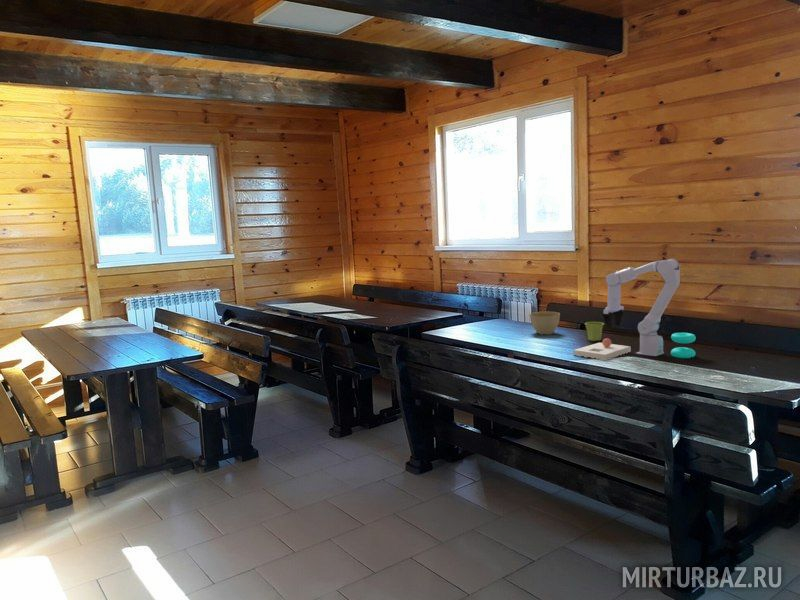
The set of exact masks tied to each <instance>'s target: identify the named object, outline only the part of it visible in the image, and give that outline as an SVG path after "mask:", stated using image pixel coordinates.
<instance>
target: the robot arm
mask: <svg viewBox="0 0 800 600" xmlns="http://www.w3.org/2000/svg"><path fill="white" fill-rule="evenodd" d="M652 271H653V272H656V273H657V272H658V273H659V275H660V276H661V277H662V278H663V280H664V281H665V284H664V286H663V288H662V289H661V290H660V292H659V295H658V297H657V298H656V300H655V301H654V303H653V305H652V307H651V309H650V310H649V313H648V314H647V315H646V316H645V317H644V318H643V320H642V321H640V322H638V324H637V330H638V333H639V351H637V352H635V354H637V355H643V356H649V357H657V356H660V355H664V354H665V352H664V339H663V336H662V335H658V332H657V331H658V330H659V328H660V322H661V320H662V319H661V317H662V316H663V314H664V312H665V310H666V309H667V308H668V305H669V304H670V301H671V299H672V298H673V296H674V294H675V292H676V291H677V289H678V287H679V286H680V283H681V278H680V277H681V275H680V273H681V272H680V271H681V265H680V263H679V261H677V260H676V259H675V258H668V259H663V260H657V261H653V262H652V261H651V262H649V263H647V264H644V265H642V266H639V267H633V266H626V267H625V268H623V269H621V270H616V271H615V272H611V273H609V274H607V275H606V277H605V282H606V284H607V306H606V307H604V308H605V309H604V308H603V312H602V313H601V316H602V318H603V320H604V324H605V326H606V327H605V328H606V329H612V327H613V321H614V326H615V327H621V325H622V320H623V317H624V315H625V314H626V311H625V307H624V305H621V295H622V293H621V290H622V289H621V288H622V286H621V285H622V284H623V283H624V284H625V283H627V282H631V281H633V280H636V279H637V277H638V275H643V274H645V273H648V272H649V273H650V272H652Z"/></svg>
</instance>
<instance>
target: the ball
mask: <svg viewBox="0 0 800 600" xmlns="http://www.w3.org/2000/svg"><path fill="white" fill-rule="evenodd" d="M601 343H602V344H603V345H604V346H605V347H609V346H610V345H611V344H612V340H611V339H610V338H608V337H607V338H604V339H603V340H602V342H601Z"/></svg>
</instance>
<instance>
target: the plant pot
mask: <svg viewBox="0 0 800 600" xmlns="http://www.w3.org/2000/svg"><path fill="white" fill-rule="evenodd" d="M584 325H585V328H586V332H587V338H588V341H591V342H596V341H601V339H602V333H603V328H604V325H605V322H600V321H587V322H585V323H584Z"/></svg>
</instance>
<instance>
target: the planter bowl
mask: <svg viewBox="0 0 800 600" xmlns="http://www.w3.org/2000/svg"><path fill="white" fill-rule="evenodd" d="M560 316H561V313H560V312H557V311H537V312H536V311H535V312H531V313H529V319H530V322H531V323H530V324H531V325H532V328H533V329H534V330H535V332H536V334H537V333H539V334H538V335H543V334H546V335H552V334H554V333H555V331H556V329H557V327H558V326H559V323H560V318H561V317H560Z"/></svg>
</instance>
